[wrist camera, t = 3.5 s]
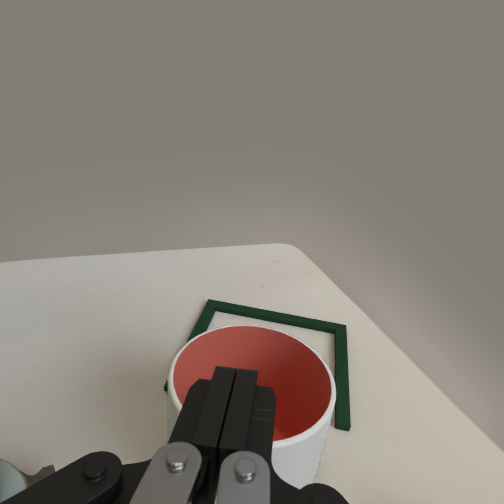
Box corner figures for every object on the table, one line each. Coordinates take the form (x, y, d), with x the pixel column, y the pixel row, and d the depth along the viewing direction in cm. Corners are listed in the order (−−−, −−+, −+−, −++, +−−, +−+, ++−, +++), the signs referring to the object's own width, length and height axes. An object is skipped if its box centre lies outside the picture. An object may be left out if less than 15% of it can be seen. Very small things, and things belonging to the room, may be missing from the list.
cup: (233, 403, 35) (244, 306, 31) (334, 479, 30) (365, 375, 26) (135, 483, 28) (131, 372, 24) (246, 601, 23) (268, 487, 18)
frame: (164, 391, 36) (164, 385, 36) (208, 303, 48) (208, 298, 48) (349, 431, 34) (350, 426, 34) (345, 329, 47) (346, 325, 46)
